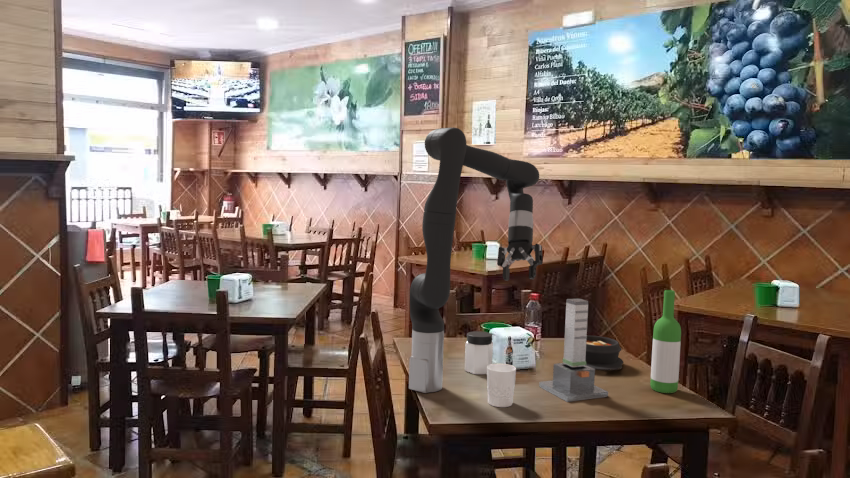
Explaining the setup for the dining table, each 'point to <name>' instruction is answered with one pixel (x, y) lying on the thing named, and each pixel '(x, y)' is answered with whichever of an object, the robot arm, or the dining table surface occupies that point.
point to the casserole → (603, 353)
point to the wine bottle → (666, 349)
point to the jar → (478, 352)
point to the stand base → (573, 383)
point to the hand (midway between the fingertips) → (518, 279)
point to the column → (575, 332)
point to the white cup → (500, 384)
